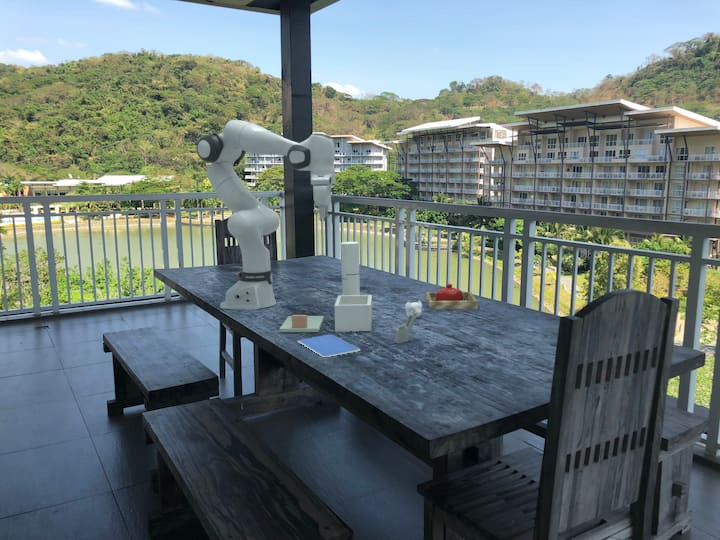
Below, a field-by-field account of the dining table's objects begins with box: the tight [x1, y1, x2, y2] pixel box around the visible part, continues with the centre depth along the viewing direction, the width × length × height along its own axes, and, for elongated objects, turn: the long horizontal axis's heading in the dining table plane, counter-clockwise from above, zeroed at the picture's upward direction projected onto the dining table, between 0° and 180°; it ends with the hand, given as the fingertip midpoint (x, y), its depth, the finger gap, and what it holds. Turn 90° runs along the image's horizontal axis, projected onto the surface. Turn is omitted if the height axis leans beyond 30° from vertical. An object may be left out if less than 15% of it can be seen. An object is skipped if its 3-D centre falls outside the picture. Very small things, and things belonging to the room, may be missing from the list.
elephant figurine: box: [404, 300, 423, 318], centre depth 200 cm, size 7×8×6 cm
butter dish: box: [434, 283, 468, 301], centre depth 219 cm, size 12×12×8 cm
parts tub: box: [333, 294, 373, 333], centre depth 190 cm, size 12×16×9 cm
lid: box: [279, 314, 325, 333], centre depth 191 cm, size 13×17×6 cm
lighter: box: [394, 315, 417, 345], centre depth 171 cm, size 7×2×8 cm, turn 123°
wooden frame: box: [425, 291, 479, 310], centre depth 219 cm, size 18×17×3 cm
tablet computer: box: [297, 333, 361, 358], centre depth 167 cm, size 19×13×1 cm, turn 30°
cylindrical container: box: [340, 241, 361, 295], centre depth 221 cm, size 7×7×25 cm
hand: (323, 217), depth 202 cm, fingers open, 8 cm apart
